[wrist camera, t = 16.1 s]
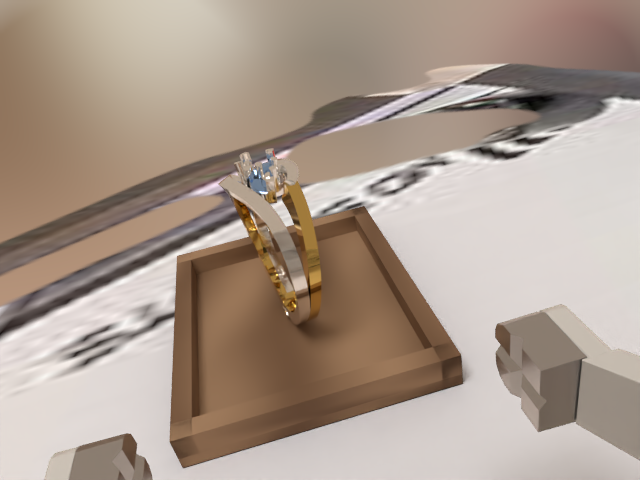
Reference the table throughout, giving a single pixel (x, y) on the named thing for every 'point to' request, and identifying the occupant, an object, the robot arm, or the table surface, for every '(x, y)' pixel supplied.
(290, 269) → the ring
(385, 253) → the tray
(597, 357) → the robot arm
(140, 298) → the table surface
